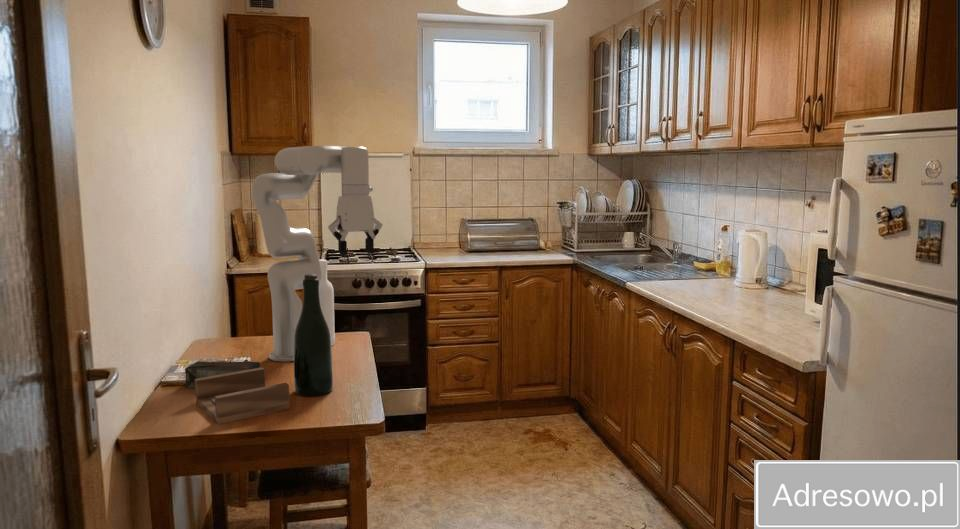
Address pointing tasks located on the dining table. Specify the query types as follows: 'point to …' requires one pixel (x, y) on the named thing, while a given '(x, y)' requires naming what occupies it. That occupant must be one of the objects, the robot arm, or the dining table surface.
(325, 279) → the bottle
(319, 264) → the robot arm
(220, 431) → the dining table surface
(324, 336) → the beer bottle
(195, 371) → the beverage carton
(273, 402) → the cradle
